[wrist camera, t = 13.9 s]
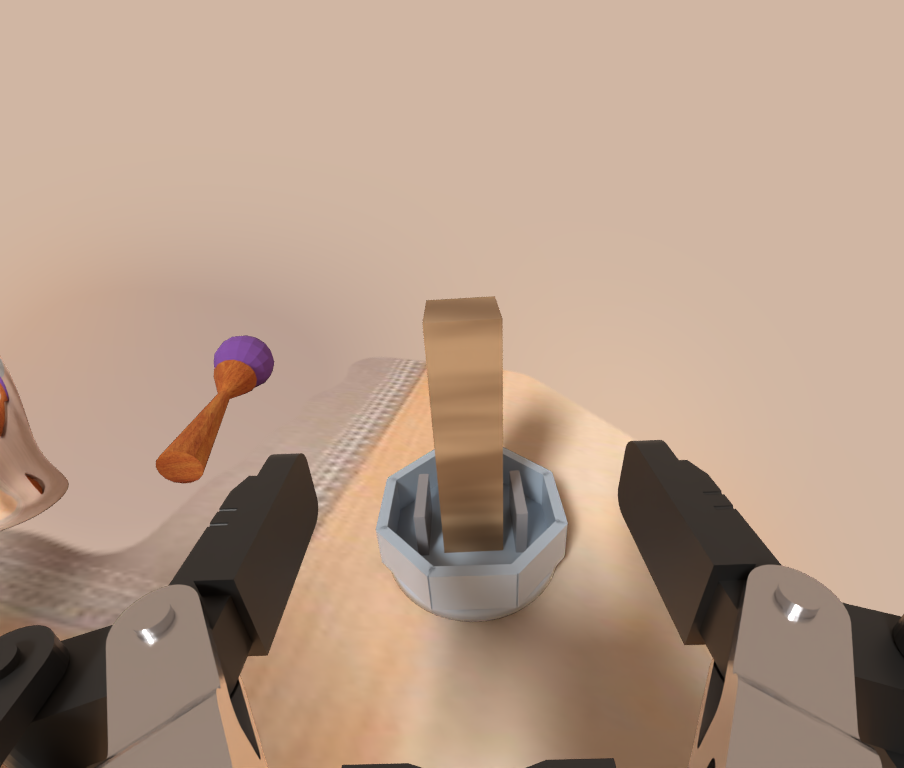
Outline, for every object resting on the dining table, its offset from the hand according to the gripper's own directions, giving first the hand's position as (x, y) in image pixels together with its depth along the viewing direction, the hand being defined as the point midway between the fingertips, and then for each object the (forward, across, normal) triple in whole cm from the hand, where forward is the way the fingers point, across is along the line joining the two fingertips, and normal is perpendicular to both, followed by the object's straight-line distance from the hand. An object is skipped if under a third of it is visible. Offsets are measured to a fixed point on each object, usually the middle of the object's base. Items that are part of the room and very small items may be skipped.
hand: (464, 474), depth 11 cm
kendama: (+27, +23, +15) cm, 39 cm away
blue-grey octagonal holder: (+10, 0, +14) cm, 17 cm away
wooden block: (+10, 0, +13) cm, 17 cm away
